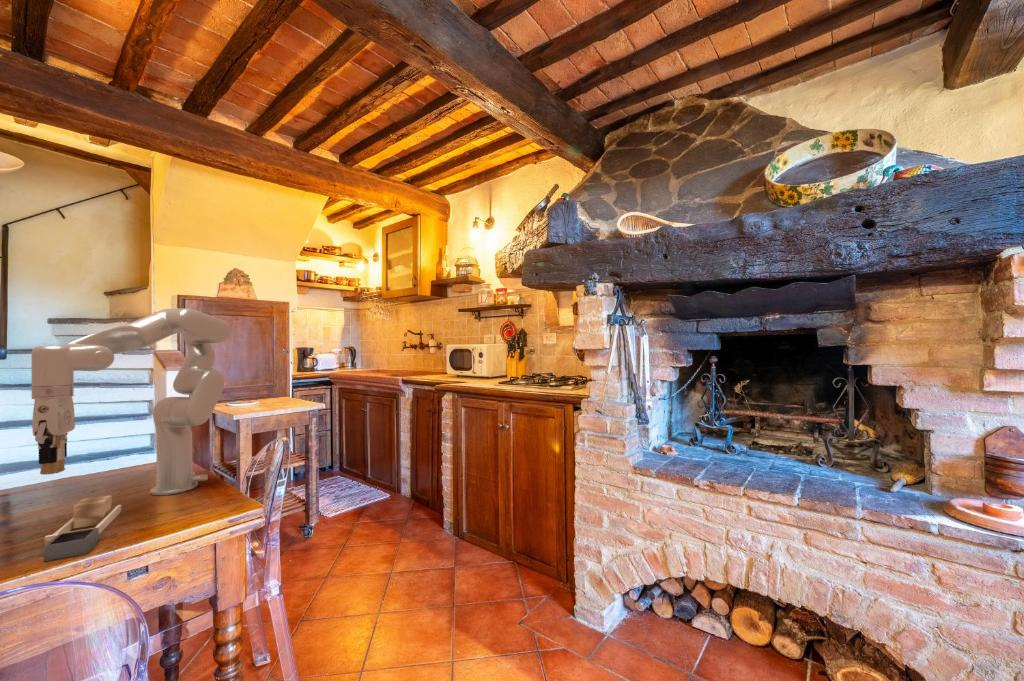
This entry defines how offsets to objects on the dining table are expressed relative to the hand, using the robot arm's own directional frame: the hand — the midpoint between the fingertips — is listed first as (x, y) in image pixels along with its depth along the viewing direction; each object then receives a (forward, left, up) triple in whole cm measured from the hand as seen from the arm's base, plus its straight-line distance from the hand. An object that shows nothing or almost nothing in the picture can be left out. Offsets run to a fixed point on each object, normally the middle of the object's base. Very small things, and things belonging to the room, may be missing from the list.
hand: (53, 459), depth 110 cm
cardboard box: (-7, -3, -19) cm, 21 cm away
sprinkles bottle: (0, 0, -4) cm, 4 cm away
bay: (-7, +1, -19) cm, 20 cm away
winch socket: (-9, +16, -19) cm, 27 cm away
